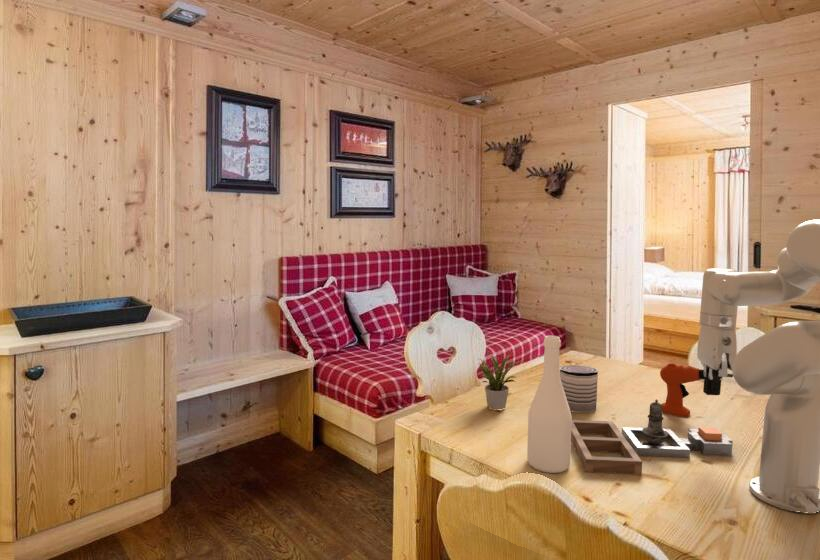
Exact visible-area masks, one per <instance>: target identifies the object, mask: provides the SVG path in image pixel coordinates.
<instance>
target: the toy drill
mask: <svg viewBox="0 0 820 560" xmlns="http://www.w3.org/2000/svg"><path fill="white" fill-rule="evenodd" d="M659 376H660V378H661V379H662V381H663V382H664V383H665V384H666V390H667V391H666V399H665V401H664V402H662V403H660V404H661V405H662V406H663V411H662V414H667V415H671V416H676V417H683V418H688V417H690V415H691V410H690V409H689V408H687V407H686V406H684V399H683V398H685V397H687V396H689V395H690V392H689V391H687V389H686V386H685V385H684V384H687V383H692V382H697V381H700V380H704V377H705V376H704V369H700V368H697V367H693V366H691V365H688V366H684V365H682V364H681V365H678V364H676V363H673V362H672V363H668V364H667V365H665V366H663V367H662V368H661V369H660V373H659ZM726 378H734V376H733V373H727V377H726Z"/></svg>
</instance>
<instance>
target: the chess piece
mask: <svg viewBox="0 0 820 560" xmlns="http://www.w3.org/2000/svg"><path fill="white" fill-rule="evenodd" d="M658 401H659V400H658V399H657V398H656V399H655V401H653V402H651V403H650V404H649V413H648V415H647V418H648V424H647V426H646V427H642V428H643V429H642V432H643V436H644V438H643V439H644V441H643V442H642V443H641V445H649V446H666V445H665V444H663V443H664V442H665V441H667V439H666V437H667V436H668V433H667V432H666V431H664V430H663V429H664V428H663V420H664V419H665V418H664V417H663V412H662V411H663V406H662V405H661V404H662V403H659V402H658Z"/></svg>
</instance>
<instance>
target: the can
mask: <svg viewBox="0 0 820 560" xmlns="http://www.w3.org/2000/svg"><path fill="white" fill-rule="evenodd" d="M599 370H600V369H599V368H597V367H592V366H588V365H577V364H576V365H574V364H572V365H571V364H570V365H569V364H568V365H559V374H560V379H561V382H562V386H563V389H564V392H565V395H566V399H567V402H568V405H569V408H570V412H571V411H573V412H572V413H576V412H578V413H577V414H581V413H584V414H586V413H587V414H589V413H592V412H595V411H597V403H598V402H597V398H598V379H599V378H598V377H599V376H598V374H599Z"/></svg>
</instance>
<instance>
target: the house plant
mask: <svg viewBox="0 0 820 560" xmlns="http://www.w3.org/2000/svg"><path fill="white" fill-rule="evenodd" d="M487 356H488V357H489V358H490V359H491V362H492V366H493V371H494V374H493V372H492V370H491V368H490V366H489V365H488V364H487V363H486V362H485V361H484V360H483V359H481V358H477V359H478V360H480V361H481V362H482V363H480V362H479V363H478V364H479V366H480V370H481V371H482V372H480V373H479V374H478V376H479V377H481V378H482V377H483V378H484V379H487V380H488V381H487V380H482V383H487V384H486V385H485V386H484V391H485V397H486V398H485V399H486V403H487V404H486V405H487V408H488V407H490V408H492V409H503V408H505V409H506V407H507V400H508V395H509V391H510V387H509V386H508V385H505V384H506V383H511V382H515V383H516V381H515V380H514V379H513V378H515V379H517V376H515V375H510V376H509V377H507V378H506V379H505V377H506V375H507V374H508V372H509V371H510V370H511V369H512V368H513V367H514V366H515V365H516V364H519V363H523V362H526V361H525V360H520V361H516V362H514V360H508V359H509V357H510V356H511V354H508V355H506V356H505V357H504V358H503V360H502V361H501V364H500V367H499V361H498V357H497V355H494V357H495V358H494V357H493V356H492V355H490V354H488V355H487ZM507 362H508V364H507V365H506V363H507ZM505 365H506V366H505ZM504 368H505V369H504Z"/></svg>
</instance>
